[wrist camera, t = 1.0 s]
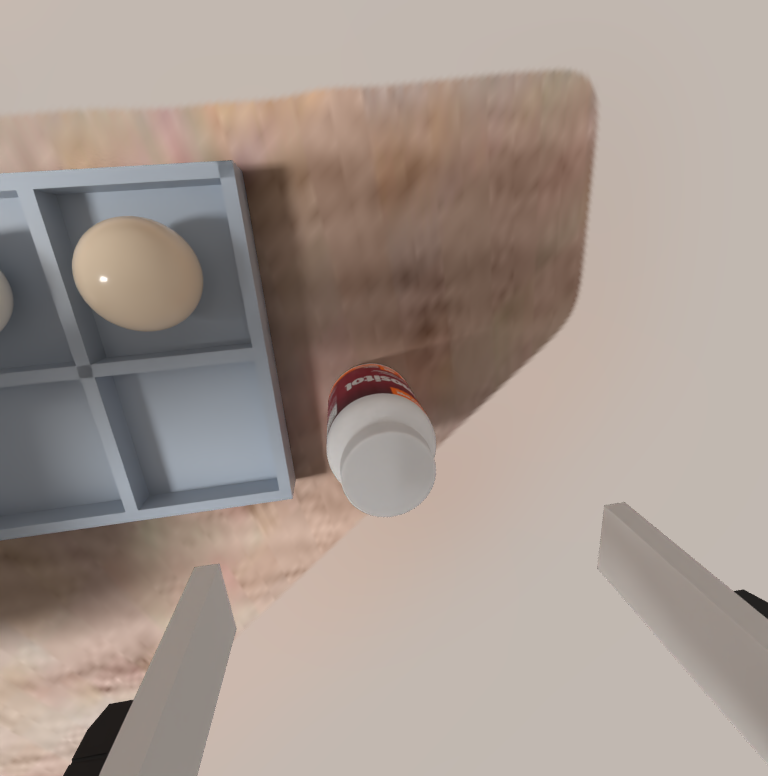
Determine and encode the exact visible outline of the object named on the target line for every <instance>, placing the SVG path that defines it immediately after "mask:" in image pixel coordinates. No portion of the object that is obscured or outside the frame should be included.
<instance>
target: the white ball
mask: <svg viewBox="0 0 768 776" xmlns="http://www.w3.org/2000/svg"><path fill="white" fill-rule="evenodd" d="M13 305H14V302H13V293H12V289H11V286H10V284H9V282H8V280H7V278H6V277H5V275H4V274H3V273H2V271H1V270H0V331H1V330H3V328H4V327H5V326H6V325H7V323H8V321H9V319H10V317H11V315H12V312H13Z"/></svg>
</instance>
